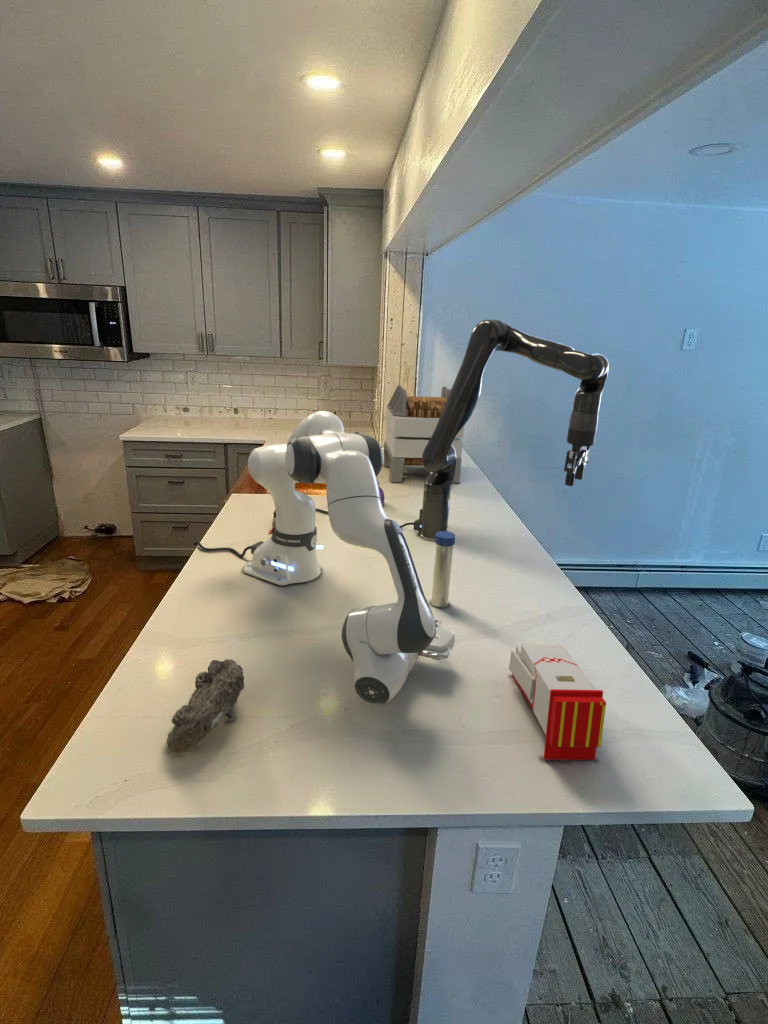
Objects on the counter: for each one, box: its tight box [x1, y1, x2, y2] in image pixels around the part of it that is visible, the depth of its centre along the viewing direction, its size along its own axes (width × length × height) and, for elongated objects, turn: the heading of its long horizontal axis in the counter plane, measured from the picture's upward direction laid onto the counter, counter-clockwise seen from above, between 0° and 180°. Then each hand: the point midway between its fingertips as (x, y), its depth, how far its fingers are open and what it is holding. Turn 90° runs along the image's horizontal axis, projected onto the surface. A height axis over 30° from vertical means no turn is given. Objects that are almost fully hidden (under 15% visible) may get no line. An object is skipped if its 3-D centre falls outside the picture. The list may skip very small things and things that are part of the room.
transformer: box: [382, 384, 465, 484], centre depth 268 cm, size 34×33×41 cm
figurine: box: [376, 476, 385, 507], centre depth 225 cm, size 9×10×15 cm
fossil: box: [166, 658, 245, 754], centre depth 106 cm, size 22×10×15 cm
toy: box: [508, 643, 607, 761], centre depth 112 cm, size 12×13×30 cm
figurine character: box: [271, 510, 276, 528], centre depth 200 cm, size 7×8×15 cm
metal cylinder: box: [430, 543, 454, 608], centre depth 150 cm, size 4×4×20 cm
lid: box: [434, 530, 456, 546], centre depth 147 cm, size 5×5×2 cm
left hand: (418, 618), depth 133 cm, fingers open, 8 cm apart
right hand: (573, 482), depth 165 cm, fingers open, 8 cm apart
